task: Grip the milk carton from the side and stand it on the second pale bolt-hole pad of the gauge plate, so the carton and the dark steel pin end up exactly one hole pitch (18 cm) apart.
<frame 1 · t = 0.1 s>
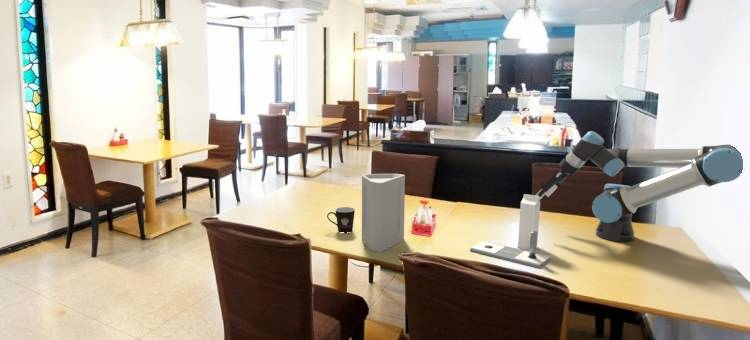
hand: (540, 197, 221), 15 cm above the table, tool tilted 35°, fingers open, 13 cm apart
coffee mug: (342, 231, 223), on the table
milk: (527, 247, 203), on the table
tall triangular prism: (377, 242, 208), on the table
steel pin: (532, 260, 188), resting on gauge plate
gauge plate: (509, 254, 194), on the table
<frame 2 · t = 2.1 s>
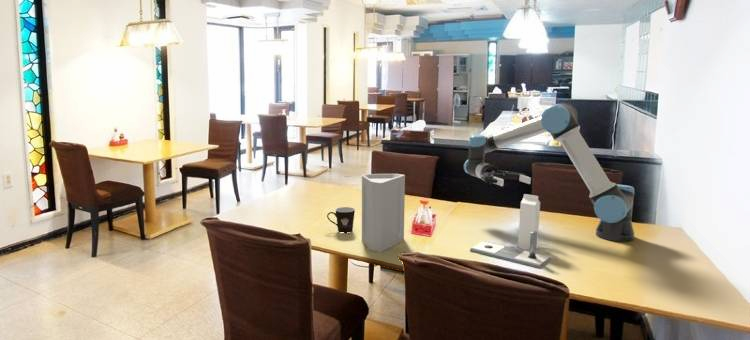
hand: (516, 181, 207), 25 cm above the table, tool horizontal, fingers open, 13 cm apart
nothing on the table moved.
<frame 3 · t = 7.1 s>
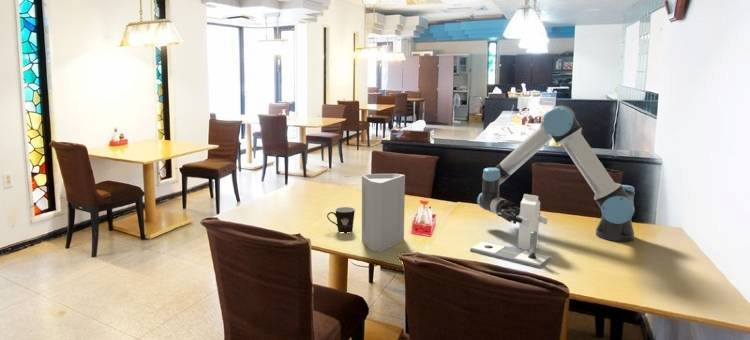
hand: (537, 222, 196), 12 cm above the table, tool horizontal, fingers closed on milk, 8 cm apart
milk: (527, 247, 203), on the table, touching gripper
everything else where it was.
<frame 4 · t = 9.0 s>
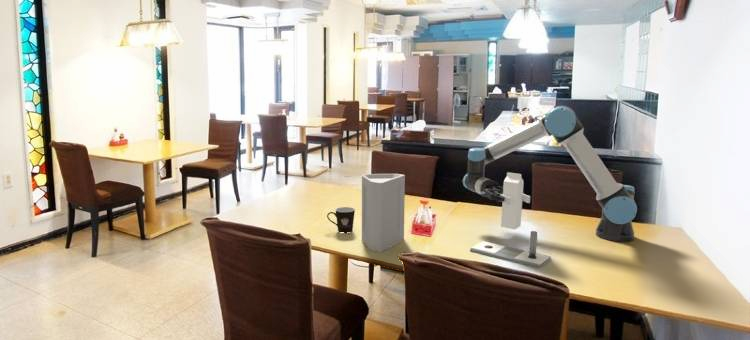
hand: (520, 200, 194), 21 cm above the table, tool horizontal, fingers closed on milk, 8 cm apart
milk: (510, 226, 201), point 9 cm above the table, touching gripper
everything else where it was.
when the fingers open (14 cm above the table, at t = 11.2 s): milk drops 1 cm, resting on gauge plate.
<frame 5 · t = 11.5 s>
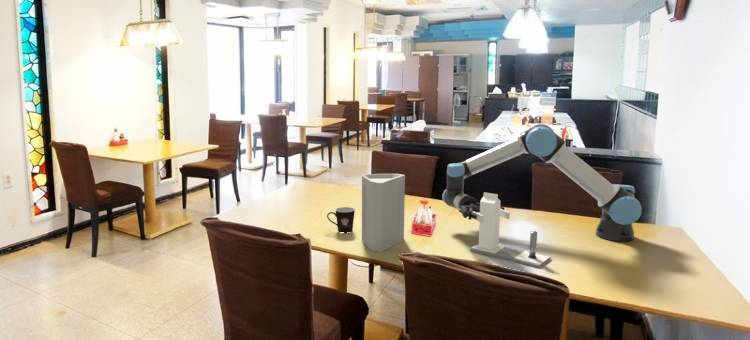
hand: (495, 217, 193), 14 cm above the table, tool horizontal, fingers open, 11 cm apart
milk: (488, 247, 199), point 1 cm above the table, touching gauge plate
everything else where it was.
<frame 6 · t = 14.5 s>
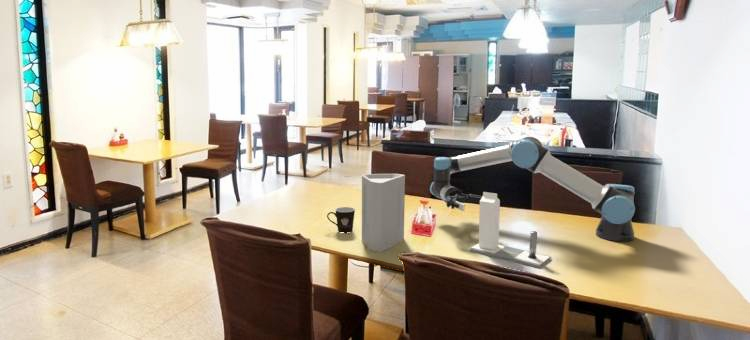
hand: (478, 206, 206), 15 cm above the table, tool horizontal, fingers open, 13 cm apart
nothing on the table moved.
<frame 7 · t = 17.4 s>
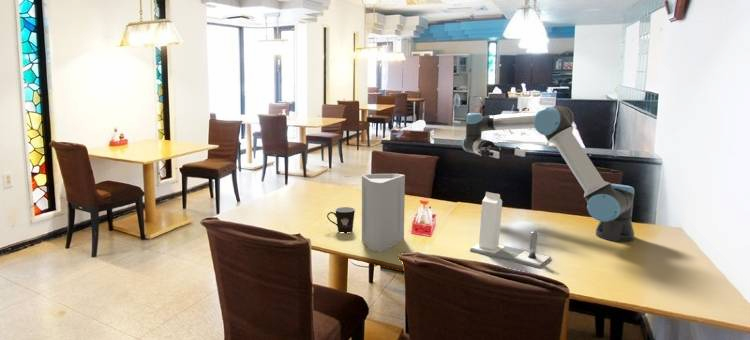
hand: (511, 154, 216), 35 cm above the table, tool horizontal, fingers open, 13 cm apart
at the end: milk 0.1 cm from the target spot on the gauge plate, point 1.2 cm above the gauge plate's base; milk tilted 2°; the gripper is holding nothing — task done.
